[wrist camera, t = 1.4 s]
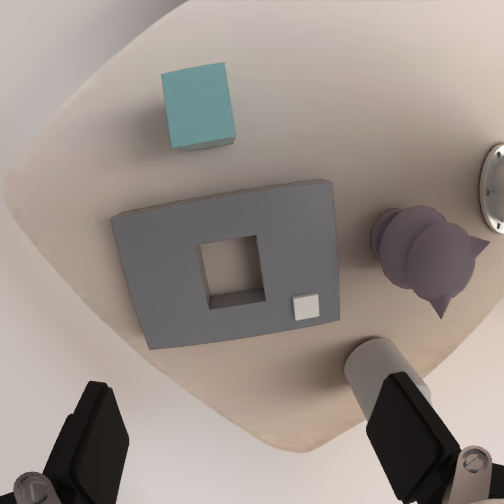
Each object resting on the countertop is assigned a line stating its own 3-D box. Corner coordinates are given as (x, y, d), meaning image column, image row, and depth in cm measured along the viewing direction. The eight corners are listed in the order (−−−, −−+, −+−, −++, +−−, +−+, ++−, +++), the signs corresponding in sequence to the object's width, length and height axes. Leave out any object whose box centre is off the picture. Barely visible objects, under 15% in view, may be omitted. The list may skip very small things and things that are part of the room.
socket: (321, 179, 29) (333, 182, 26) (331, 306, 33) (341, 322, 30) (120, 212, 29) (108, 220, 25) (154, 334, 33) (148, 352, 30)
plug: (225, 93, 26) (224, 62, 16) (232, 143, 28) (235, 136, 18) (182, 100, 26) (161, 74, 16) (190, 150, 27) (171, 148, 18)
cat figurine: (391, 183, 30) (465, 202, 18) (434, 223, 31) (505, 255, 20) (348, 249, 32) (405, 298, 20) (395, 283, 33) (454, 335, 22)
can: (403, 345, 36) (449, 401, 25) (369, 385, 38) (403, 447, 27) (366, 326, 35) (412, 388, 23) (330, 371, 36) (361, 440, 25)
